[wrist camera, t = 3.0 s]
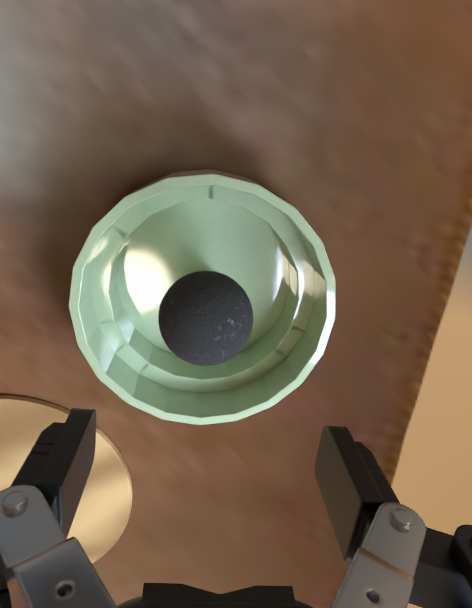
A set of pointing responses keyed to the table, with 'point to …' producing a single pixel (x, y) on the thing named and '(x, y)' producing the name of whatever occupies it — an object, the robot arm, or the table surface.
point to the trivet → (101, 482)
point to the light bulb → (205, 318)
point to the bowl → (192, 258)
